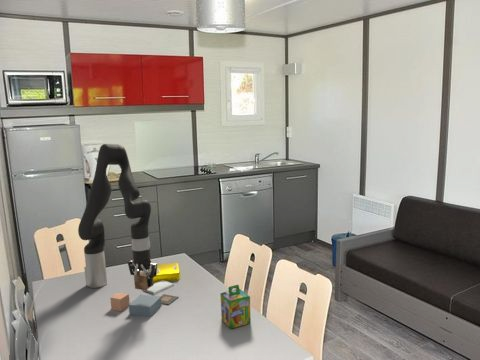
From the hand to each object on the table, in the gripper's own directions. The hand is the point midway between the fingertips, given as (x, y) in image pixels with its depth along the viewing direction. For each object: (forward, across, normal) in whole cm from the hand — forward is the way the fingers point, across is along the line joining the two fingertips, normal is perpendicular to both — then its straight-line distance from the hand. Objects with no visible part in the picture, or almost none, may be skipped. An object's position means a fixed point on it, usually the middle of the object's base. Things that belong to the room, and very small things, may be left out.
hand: (144, 285), depth 178 cm
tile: (+11, +3, +11) cm, 16 cm away
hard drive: (+12, -8, +21) cm, 25 cm away
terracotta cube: (+11, -12, -2) cm, 17 cm away
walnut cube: (+1, 0, 0) cm, 1 cm away
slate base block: (+11, 0, 0) cm, 11 cm away
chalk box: (+12, +41, +4) cm, 43 cm away
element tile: (+12, -14, +35) cm, 39 cm away
